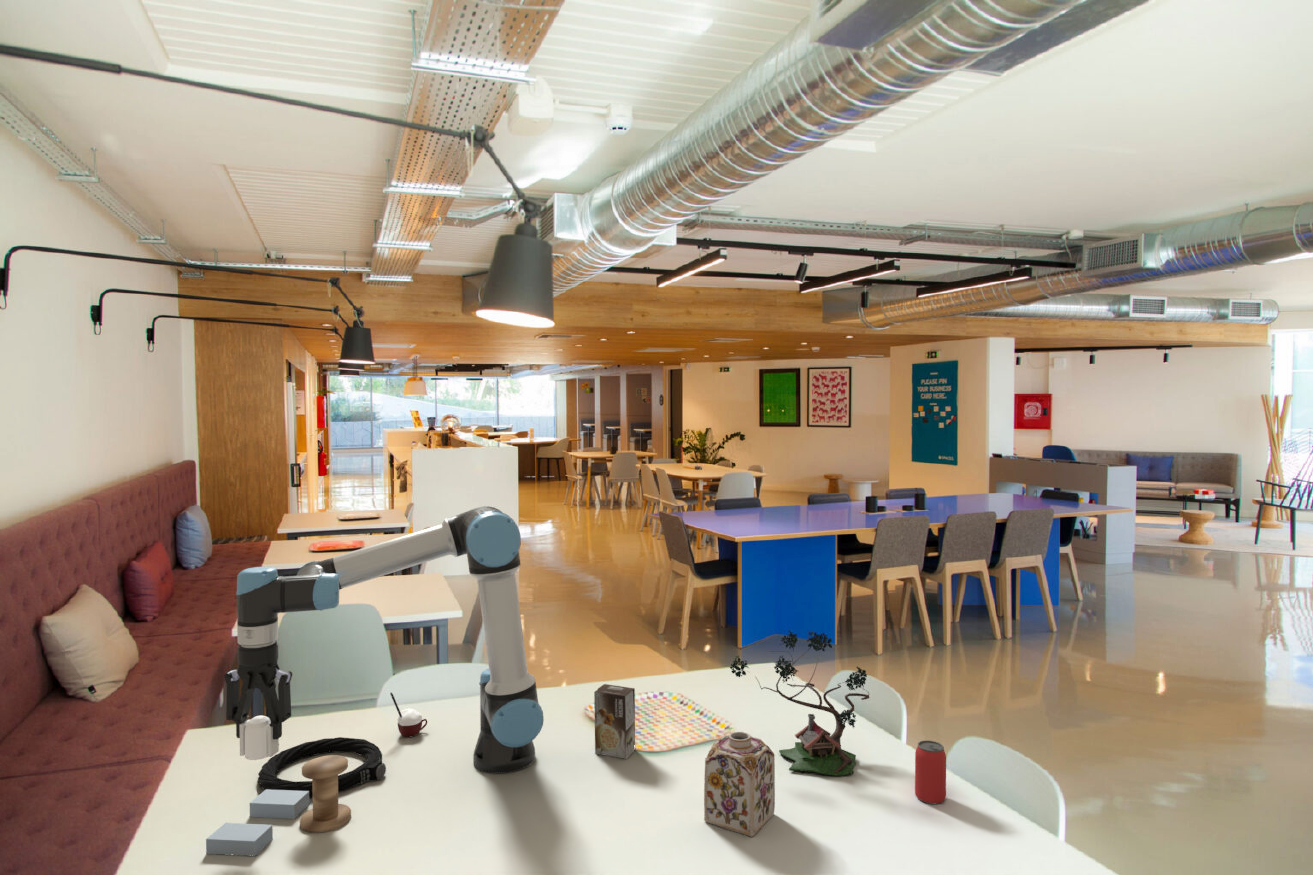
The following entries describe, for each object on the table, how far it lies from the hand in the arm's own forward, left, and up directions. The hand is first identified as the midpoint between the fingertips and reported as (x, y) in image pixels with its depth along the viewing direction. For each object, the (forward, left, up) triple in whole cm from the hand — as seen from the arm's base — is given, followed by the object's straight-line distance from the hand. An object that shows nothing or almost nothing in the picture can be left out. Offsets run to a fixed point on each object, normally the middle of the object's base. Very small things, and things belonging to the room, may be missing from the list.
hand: (259, 753), depth 159 cm
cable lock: (-1, -25, -16) cm, 30 cm away
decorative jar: (-100, -12, -16) cm, 102 cm away
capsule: (0, 0, 0) cm, 0 cm away
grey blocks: (0, 0, -16) cm, 16 cm away
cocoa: (-12, -48, -16) cm, 52 cm away
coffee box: (-69, -42, -16) cm, 82 cm away
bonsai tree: (-116, -43, -16) cm, 125 cm away
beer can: (-143, -24, -16) cm, 146 cm away
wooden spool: (-12, -4, -16) cm, 20 cm away
